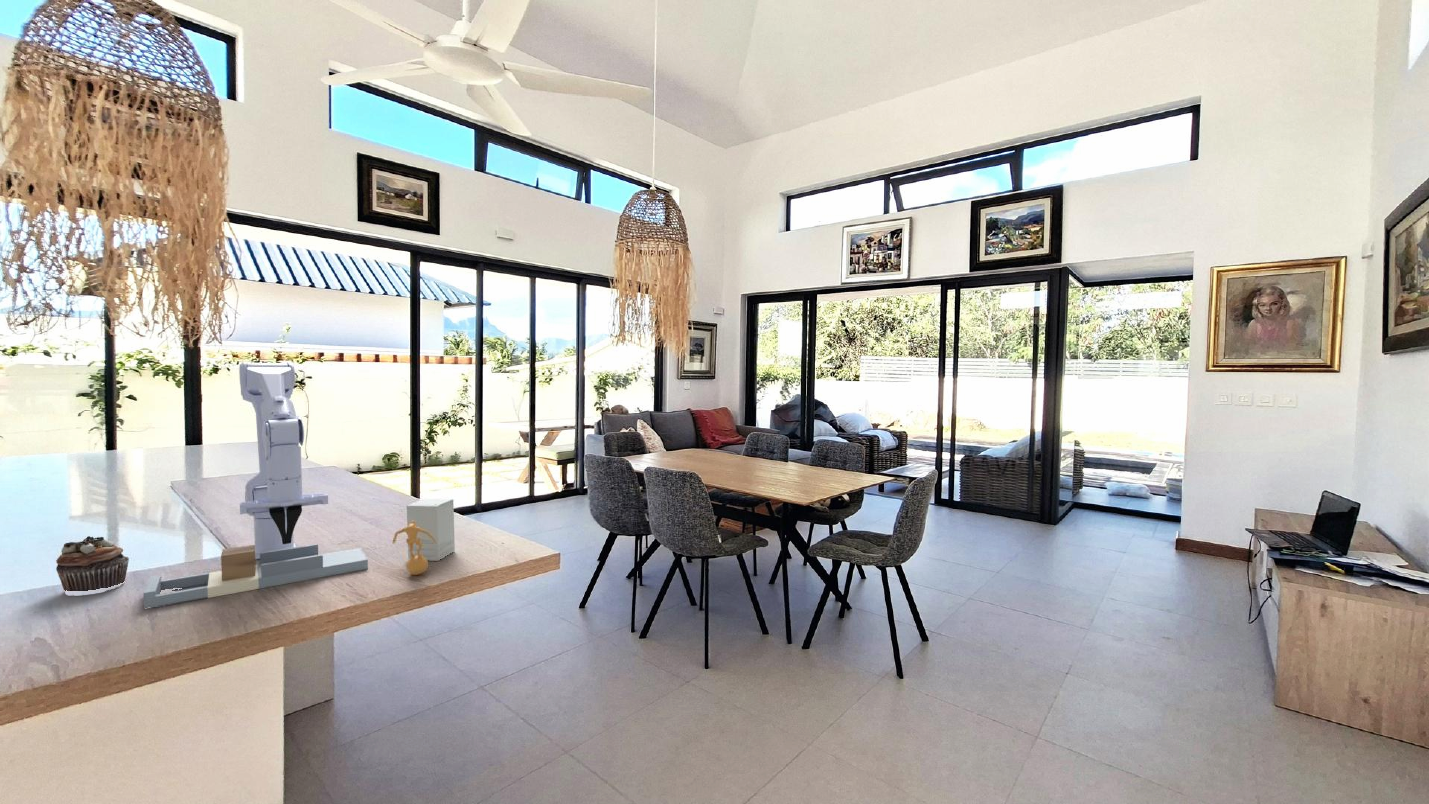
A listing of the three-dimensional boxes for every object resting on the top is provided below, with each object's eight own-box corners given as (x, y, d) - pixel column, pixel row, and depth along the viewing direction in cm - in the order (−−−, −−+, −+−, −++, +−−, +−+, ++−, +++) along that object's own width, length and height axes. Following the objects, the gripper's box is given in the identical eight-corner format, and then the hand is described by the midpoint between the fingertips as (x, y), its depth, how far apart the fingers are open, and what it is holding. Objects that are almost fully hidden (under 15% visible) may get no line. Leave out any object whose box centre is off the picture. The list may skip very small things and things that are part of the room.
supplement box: (455, 551, 137) (455, 498, 137) (437, 561, 130) (436, 506, 129) (426, 550, 138) (425, 497, 137) (406, 560, 131) (405, 504, 130)
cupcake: (103, 596, 109) (101, 544, 108) (41, 600, 107) (38, 546, 106) (143, 578, 118) (141, 529, 117) (87, 581, 116) (84, 531, 116)
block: (223, 573, 116) (222, 549, 115) (255, 568, 119) (254, 544, 118) (222, 581, 112) (221, 555, 111) (255, 576, 115) (254, 551, 114)
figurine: (441, 570, 125) (440, 515, 124) (431, 580, 119) (430, 522, 118) (400, 571, 123) (399, 516, 123) (388, 582, 117) (387, 523, 117)
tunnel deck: (150, 592, 111) (149, 569, 111) (360, 556, 133) (359, 537, 132) (144, 609, 103) (143, 584, 103) (367, 568, 125) (367, 548, 125)
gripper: (238, 485, 111) (241, 554, 112) (329, 476, 120) (330, 541, 121) (238, 479, 117) (241, 545, 118) (325, 471, 126) (327, 533, 127)
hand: (286, 542), depth 120 cm, fingers closed
